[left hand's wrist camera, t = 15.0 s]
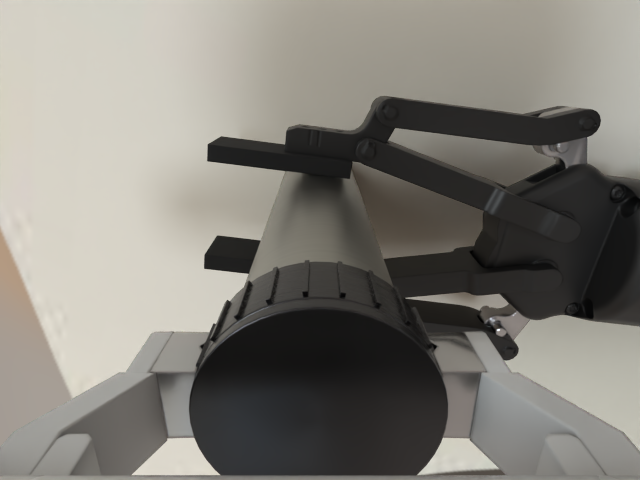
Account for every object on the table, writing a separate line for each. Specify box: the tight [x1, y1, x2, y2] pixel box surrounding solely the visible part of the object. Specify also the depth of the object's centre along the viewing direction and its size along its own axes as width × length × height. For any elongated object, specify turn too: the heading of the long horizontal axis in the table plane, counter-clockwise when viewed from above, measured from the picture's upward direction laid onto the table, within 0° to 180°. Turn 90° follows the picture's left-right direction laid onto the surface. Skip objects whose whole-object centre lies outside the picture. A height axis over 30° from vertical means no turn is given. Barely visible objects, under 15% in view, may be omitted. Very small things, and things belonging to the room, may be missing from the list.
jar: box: [246, 169, 393, 286], centre depth 18 cm, size 5×5×19 cm
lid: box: [189, 260, 448, 475], centre depth 9 cm, size 5×5×2 cm
